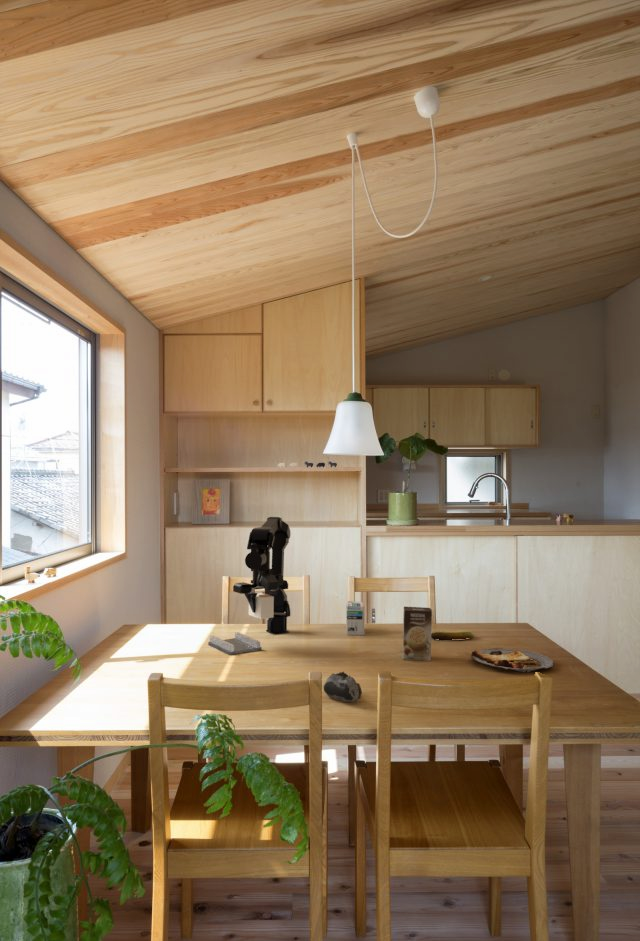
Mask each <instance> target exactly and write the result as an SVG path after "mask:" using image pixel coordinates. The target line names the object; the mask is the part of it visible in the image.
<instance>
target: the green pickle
mask: <svg viewBox="0 0 640 941" xmlns="http://www.w3.org/2000/svg"><path fill="white" fill-rule="evenodd" d="M471 637H472V638H474V633H473V632H472V631H471V630H466V629H462V630H455V631H452V630H449V631H448V630H447V631H446V630H442V631H441V630H437V631H436V630H435V631H433V632H431V639H433V640H435V639H439V640H438V641H440V640H452V639H466V638H471Z"/></svg>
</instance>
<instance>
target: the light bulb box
mask: <svg viewBox="0 0 640 941" xmlns="http://www.w3.org/2000/svg"><path fill="white" fill-rule="evenodd" d="M345 607H346V608H345V612H346V614H345V618H346V619H345V620H346V622H345V623H346V625H345V627H346V628H345V629H346V636H347V635H348V636H365V605H364V601H350V600H349V601H348V600H346V605H345Z"/></svg>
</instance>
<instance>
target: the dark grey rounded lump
mask: <svg viewBox="0 0 640 941" xmlns="http://www.w3.org/2000/svg"><path fill="white" fill-rule="evenodd" d="M328 676H329V677H327V678H326V680H325V683H324V685H323V692H324V693H325V694H326V695H327V696H328V697H329V698H331V699H333V698H334V700H337V701H339V702H341V701H343V702H342V703H352V702H353V703H354V702H355V703H356V702H358V700H361V697H362V694H363V692H362V687H361V685H360V683H358V682H356V680H355V678H354V677H352V676H351V674H349V675H348V674H347V673H345V671H339V672H338V673H331V674H330V675H328Z"/></svg>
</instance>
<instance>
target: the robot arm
mask: <svg viewBox="0 0 640 941" xmlns="http://www.w3.org/2000/svg"><path fill="white" fill-rule="evenodd" d="M290 538H291V529H290V525H289V524H288V523H286V522H285V521H284V520H283V519H282V517H279V516H268V517H267V518H266V521H265V522H264V523H263V524H262V525H261V526H259V527H254V528H252V530H251V531H250V533H249V537H248V542H247V545H246V546H247V547H246V549H247V550H250V551H249V552H248V553H247V554H246V556H245V559H244V561H245V562H244V564H245V566H246V567H247V568H248V569H250V572H252V579H250V583H247V582H243V581H242V582H235V583H234V585H233V586H232V591H233V593H237V594H241V595H242V594H243V595H244V596H245V598H246V599H247V601H248V605H249V604H250V607H251V609H252V611H253V612H254V613H255V610H256V595H257V594H258V593H257V592H256V590H263V589H264V594H268V595H270V596H273V597H274V617H273V618H267V622H266V623H267V624H266V625H267V626H266V630H265V632H267V633H270V634H272V635H280V634H288V633H290V630H288V629H287V626H288V625H287V624H288V622H287V621H288V617H291V608H290V603H289V600H288V595H287V593H286V591H285V590H288V589H289V582H288V581H287V580H285V579H284V571H285V570H284V569H285V568H284V565H285V550H286V548H287V546H288V545H289V543H290V542H289V541H290ZM270 550H272V551H271V552H270ZM270 553H271V554H270ZM270 558H271V559H270ZM270 567H271V568H270Z"/></svg>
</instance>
